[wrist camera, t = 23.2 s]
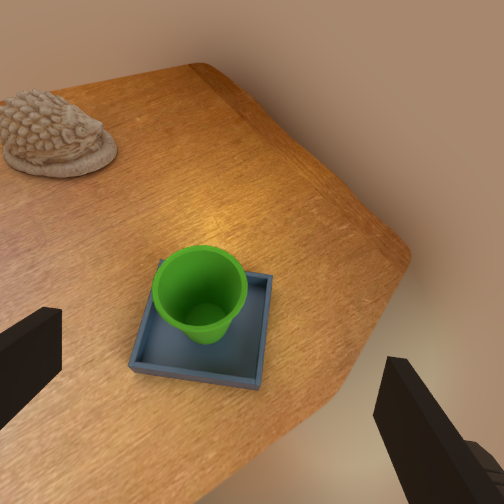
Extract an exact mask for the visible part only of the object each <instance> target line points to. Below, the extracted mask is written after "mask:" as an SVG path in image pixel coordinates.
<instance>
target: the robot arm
mask: <svg viewBox="0 0 504 504" xmlns="http://www.w3.org/2000/svg"><path fill="white" fill-rule="evenodd" d="M61 370H62V309H56V308H49V307H42V308H40V309H39V310H37V311H35V312H34V313H32V314H31V315H29V316H27V317H26V318H24V319H23V320H21V321H19V322H18V323H16V324H15V325H13V326H11V327H10V328H8V329H7V330H5V331H3V332H2V333H0V430H1V429H2V428H3V427H4V426H5V425H6V424H7V423H8V422H9V421H10V420H11V419H12V418H13V417H14V416H15V415H16V414H17V413H18V412H19V411H20V410H21V409H23V408H24V407H25V406H26V405H27V404H28V403H29V402H30V401H31V400H32V399H33V398H34V397H35V396H36V395H37V394H38V393H39V392H40V391H41V390H42V389H43V388H44V387H45V386H46V385H47V384H48V383H49V382H50V381H51V380H52V379H53V378H54V377H55V376H56V375H57V374H58V373H59V372H60V371H61ZM373 417H374V419H375V422H376V424H377V427H378V429H379V432H380V434H381V437H382V439H383V441H384V444H385V447H386V449H387V452H388V454H389V456H390V459H391V461H392V464H393V466H394V468H395V471H396V473H397V476H398V479H399V481H400V483H401V486H402V488H403V491H404V493H405V496H406V498H407V500H408V503H409V504H504V471H503V469H502V468H501V467H500V465H499V464H498V463H497V461H496V460H495V459H494V457H493V456H492V455H491V454H489V453H488V452H487V451H486V450H485V449H483V448H482V447H481V446H480V445H479V444H478V443H476V442H472V441H466V440H463V438H462V437H461V435H460V434H459V432H458V431H457V430H456V428H455V427H454V425H453V424H452V422H451V421H450V420H449V418H448V417H447V415H446V414H445V413H444V411H443V410H442V408H441V407H440V405H439V404H438V403H437V401H436V400H435V398H434V397H433V395H432V394H431V393H430V391H429V390H428V388H427V387H426V385H425V384H424V383H423V381H422V380H421V378H420V377H419V376H418V374H417V373H416V371H415V370H414V368H413V367H412V365H411V364H410V363H409V361H408V360H407V359H404V358H397V357H390V356H387V360H386V364H385V369H384V372H383V377H382V381H381V385H380V389H379V393H378V397H377V401H376V405H375V409H374V413H373Z"/></svg>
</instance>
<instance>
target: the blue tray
mask: <svg viewBox="0 0 504 504" xmlns="http://www.w3.org/2000/svg"><path fill="white" fill-rule="evenodd" d="M164 261H165V260H162V259H160V262H159V265H158V268H159V267H160V266H161V265H162V263H163V262H164ZM158 268H157V270H158ZM244 272H245V273H246V278H247V282H248V289H247V296H246V300H245V303H244V305H243V307H242V308H241V310H240V311H239V313H238V314H237V315H236V316H235V317H234V318H233V319H232V321H231V323H230V325H229V327H228V329H227V331H226V333H225V334H224V336H223V337H222V338H221V339H220V340H218V341H217V342H215V343H212V344H207V345H203V344H198V343H196V342H194V341H192V340H191V339H190V338H189V337H188V336H187V335H185V334H184V333H183V332H182V331H181V330H180V329H178V328H176V327H174V326H172V325H170V324H169V323H168V322H166V321H165V320H164V319H163V318H162V317H161V316H160V314H159V313H158V311H157V310H156V308H155V305H154V302H153V300H152V288H151V291H150V295H149V298H148V301H147V305H146V308H145V311H144V315H143V318H142V321H141V325H140V328H139V331H138V334H137V338H136V341H135V344H134V348H133V351H132V354H131V358H130V361H129V364H128V367H129V368H130V369H131V370H132V371H134V372H135V373H142V374H148V375H155V376H162V377H169V378H176V379H183V380H189V381H196V382H203V383H210V384H217V385H224V386H231V387H237V388H244V389H251V390H259V388H260V386H261V379H262V370H263V361H264V352H265V343H266V333H267V324H268V315H269V306H270V297H271V288H272V279H273V275H268V274H261V273H254V272H247V271H244Z"/></svg>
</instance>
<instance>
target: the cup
mask: <svg viewBox="0 0 504 504" xmlns="http://www.w3.org/2000/svg"><path fill="white" fill-rule="evenodd" d="M247 289H248V282H247V278H246V273H245V272H244V270H243V268H242V266H241V264H240V263H239V262H238V261H237V260H236V259H235V257H233V256H232V255H230V254H229V253H228V252H226V251H224V250H222V249H219V248H217V247H213V246H207V245H199V246H191V247H187V248H183V249H181V250H179V251H177V252H175V253H173V254H172V255H171V256H170V257H168V258H167V259H166V260H165V261H164V262H163V263H162V265H161V266H160V267H159V268H158V270H157V272H156V274H155V276H154V279H153V284H152V300H153V302H154V305H155V308H156V310H157V311H158V313H159V314H160V316H161V317H162V318H163V319H164V320H165V321H166V322H168V323H169V324H170V325H172V326H174V327H176V328H178V329H180V330H181V331H182V332H183V333H184V334H185V335H187V336H188V337H189V338H190V339H191V340H192V341H194V342H196V343H198V344H203V345H207V344H212V343H215V342H217V341H218V340H220V339H221V338H222V337H223V336H224V334H225V333H226V331H227V329H228V327H229V325H230V323H231V321H232V319H233V318H234V317H235V316H236V315H237V314H238V313H239V311H240V310H241V308H242V307H243V305H244V303H245V300H246V296H247Z"/></svg>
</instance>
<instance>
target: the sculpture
mask: <svg viewBox="0 0 504 504" xmlns="http://www.w3.org/2000/svg"><path fill="white" fill-rule="evenodd" d="M4 100H5V105H3V106H0V136H1V137H0V141H1V143H2V145H4V146H3V156H4V157H5V159H6V162H7V164H8V165H10V166H11V167H13V168H14V169H17V170H19V171H25V172H26V173H28V174H32V175H44V176H48V177H58V178H59V177H63V178H65V177H73V176H80V175H84V174H87V173H90V172H93V171H96V170H99V169H101V168H102V167H104V166H106V165H107V164H109V163H110V162H111V161H112V160H113V159H114V158H115V157H116V154H117V145H116V143H115V141H114V139H113V138H112V136H111V135H110V134H109V133H108V131H105V130H104V129H103V128H104V125H103V123H102V122H100V121H98V120H95V119H92V118H91V117H90V116H88V115H86V114H85V113H84V112H83V111H82V110H80V109H79V108H78V107H77V106H75V105H71V104H70V103H69V102H68V101H67V100H64V99H63V98H62V97H61V96H59V95H57V96H54V95H53V94H51V93H50V92H48V91H46V92H42V91H39V90H37V89H32V91H30V92H29V93H26V92H24V91H18V93H17V97H7V98H5V99H4Z"/></svg>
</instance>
